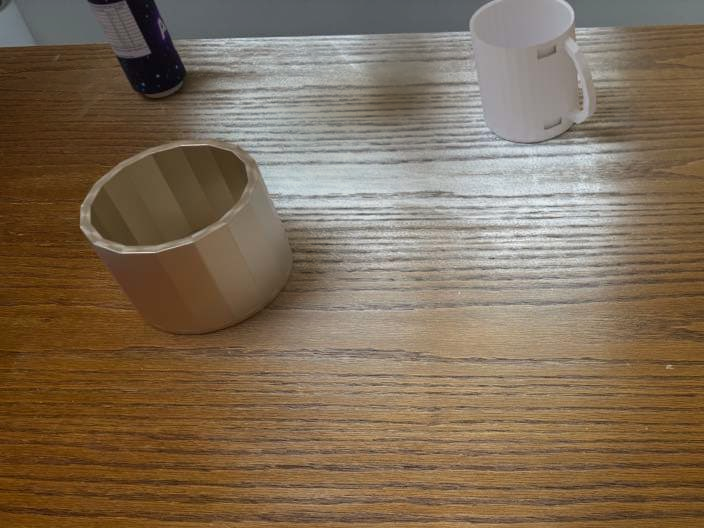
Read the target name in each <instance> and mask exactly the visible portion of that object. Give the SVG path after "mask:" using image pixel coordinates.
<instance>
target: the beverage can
mask: <svg viewBox="0 0 704 528" xmlns="http://www.w3.org/2000/svg"><path fill="white" fill-rule="evenodd" d="M86 1H87V3H88V5H89V8H90V9H91V11H92V13H93V15H94V17H95V19H96V21H97V23H98V25H99V27H100V29H101V30H102V33H103V35H104V37H105V38H106V40H107V43H108V44H109V47H110V48H111V50H112V51H113V54H114V55H115V58H116V59H117V62H118V64H119V65H120V67H121V69H122V72H123V73H124V76H125V77H126V78H127V80H128V83H129V84H130V86H131V89H132V90H133V91H134V92H136V93H138V94H140V95H141V94H142V95H144V96H145V97H148V98H153V99H157V98H164V97H168V96H170V95H172V94H175V93H176V92H177V91H178V90H179V89H180V88H181V87H182V85H183V84H182V83H183V82H184V80H185V77H186V76H187V70H186V68H185V65H184V63H183V61H182V58H181V56H180V54H179V52H178V49H177V47H176V45H175V43H174V41H173V39H172V37H171V35H170V32H169V29H168V28H167V25H166V23H165V21H164V19H163V17H162V15H161V12H160V10H159V8H158V6H157V4H156V1H155V0H86ZM175 91H176V92H175Z"/></svg>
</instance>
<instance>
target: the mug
mask: <svg viewBox="0 0 704 528" xmlns="http://www.w3.org/2000/svg"><path fill="white" fill-rule="evenodd" d="M468 28H469V32H470V33H469V34H470V39H471V46H472V52H473V59H474V65H475V71H476V77H477V84H478V90H479V95H480V96H479V97H480V102H481V109H482V116H483V120H484V123H485V125H486V127H487V128H488V129H489V131H491V132H492V133H493V134H494V135H496V136H497V137H499V138H501V139H503V140H506V141H509V142H515V143H523V144H524V143H525V144H527V143H528V144H530V143H538V142H543V141H548V140H551V139H553V138H556V137H558V136H560V135H562V134H563V133H565V132H567V131H568V130H569V129H570V128H571V127H572V126H573V125H574V124H576V125H580V124H581V123H583V122H585V121H586V120H588V119H589V118H590V117H591V116H592V115H594V113H595V112H597V90H596V88H595V87H596V86H595V83H594V79H593V76H592V71H591V69H590V66H589V63H588V61H587V59H586V57H585V55H584V52H583V51H582V48H581V47H580V46H579V44H578V43H577V40H576V39H577V37H576V36H577V35H576V19H575V11H574V9H573V7H572V6H571V5H570V4H569V2H567V1H566V0H491V1H489V2H487V3H485V4H483V5H482V6H481V7H479V8H478V9H477V10H476V11H475V12H474V13H473V15H472V16H471V18H470V20H469V27H468ZM579 80H580V84H581V89H582V95H583V103H582V110H580V93H579Z"/></svg>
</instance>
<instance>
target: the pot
mask: <svg viewBox="0 0 704 528" xmlns="http://www.w3.org/2000/svg"><path fill="white" fill-rule="evenodd" d="M79 228H80V230H81V232H82V233H83V235H84V236H85V238H86V239H87V241H88V242H89V243H90V245H91V247H92V248H93V250H94V251H95V253H96V254H97V256H98V257H99V259H100V260H101V261H102V263H103V265H104V266H105V268H106V270H107V271H108V272H109V274H110V275H111V277H112V279H114V281H115V283H116V284H117V286H118V287H119V288H120V290H121V291H122V293H123V294H124V296H125V297H126V299H127V301H128V302H129V303H130V305H131V306H132V307H133V309H134V310H135V311H136V312H137V313H138V315H139V317H140V318H141V319H142V320H143V321H144V322H145V323H146V324H148V325H150V326H151V327H153V328H155V329H157V330H159V331H162V332H166V333H169V334H175V335H186V336H187V335H201V334H208V333H213V332H218V331H222V330H224V329H226V328H230V327H233V326H235V325H237V324H240V323H242V322H244V321H246V320H248V319H249V318H251V317H253V316H255V315H256V314H258V313H259V312H262V310H264V309H265V308H266V307H267V306H268V305H270V304H271V303H272V302H273V300H276V298H277V297H278V296H279V294H280V293H281V292H282V291H283V289H284V288H285V286H286V285H287V283H288V282H289V278H290V277H291V274H292V271H293V267H294V254H293V250H292V247H291V245H290V240H289V236H288V233H287V232H286V230H285V227H284V225H283V223H282V220H281V218H280V215H279V213H278V211H277V209H276V206H275V204H274V201H273V199H272V196H271V194H270V192H269V190H268V187H267V184H266V183H265V180H264V178H263V175H262V173H261V170H260V169H259V165H258V164H257V161H256V159H254V158H253V157H252V155H250V154H249V153H247V152H246V151H245V150H244V149H243V148H242V147H241V146H240V145H239V144H234V143H231V142H228V141H223V140H219V139H215V138H204V139H203V138H199V139H179V140H176V141H173V142H169V143H164V144H161V145H157V146H153V147H150V148H147V149H145V150H143V151H141V152H139V153H136V154H134V155H133V156H131V157H129V158H127V159H124V160H123V161H121V162H119V163H117V164H116V165H115V166H114V167H112V168H111V169H110V170H109V171H108V172H107V173H105V174H104V175H103V176H102V177H101V178H99V179H98V180H97V181H96V182H94V184H93V185H92V187H91V189H90V190H89V192H88V193H87V195H86V197H85V198H84V199H83V202H82V203H81V204H80V208H79Z"/></svg>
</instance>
